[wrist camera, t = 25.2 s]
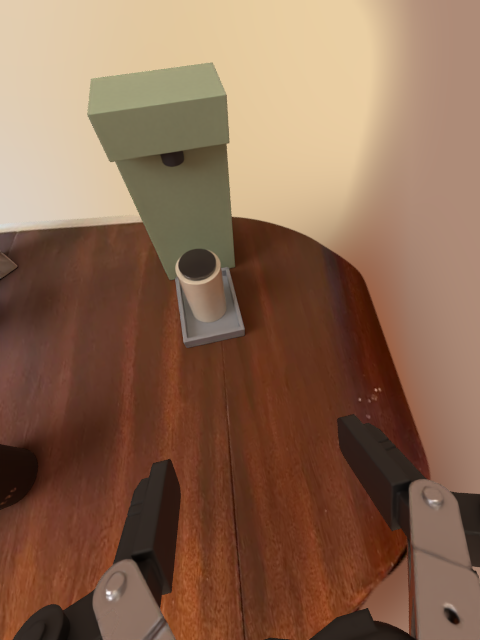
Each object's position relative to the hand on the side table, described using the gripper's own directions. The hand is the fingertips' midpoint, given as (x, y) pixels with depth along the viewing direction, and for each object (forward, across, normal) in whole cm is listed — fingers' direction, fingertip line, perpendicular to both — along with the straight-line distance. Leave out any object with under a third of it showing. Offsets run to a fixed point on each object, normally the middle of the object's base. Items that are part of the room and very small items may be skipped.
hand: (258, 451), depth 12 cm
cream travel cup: (+31, +2, 0) cm, 31 cm away
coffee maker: (+35, +2, -2) cm, 35 cm away
